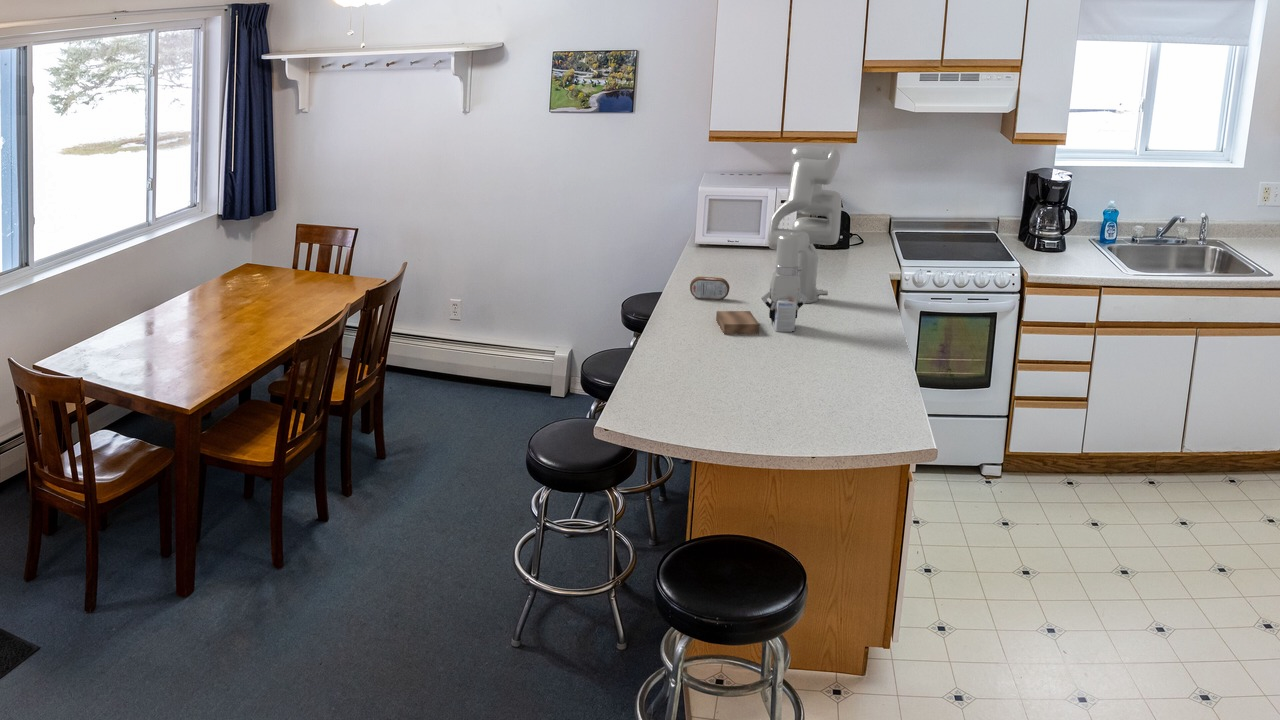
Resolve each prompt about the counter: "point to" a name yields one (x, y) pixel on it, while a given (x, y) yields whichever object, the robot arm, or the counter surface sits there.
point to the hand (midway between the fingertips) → (782, 319)
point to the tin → (709, 288)
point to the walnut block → (737, 322)
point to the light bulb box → (784, 315)
